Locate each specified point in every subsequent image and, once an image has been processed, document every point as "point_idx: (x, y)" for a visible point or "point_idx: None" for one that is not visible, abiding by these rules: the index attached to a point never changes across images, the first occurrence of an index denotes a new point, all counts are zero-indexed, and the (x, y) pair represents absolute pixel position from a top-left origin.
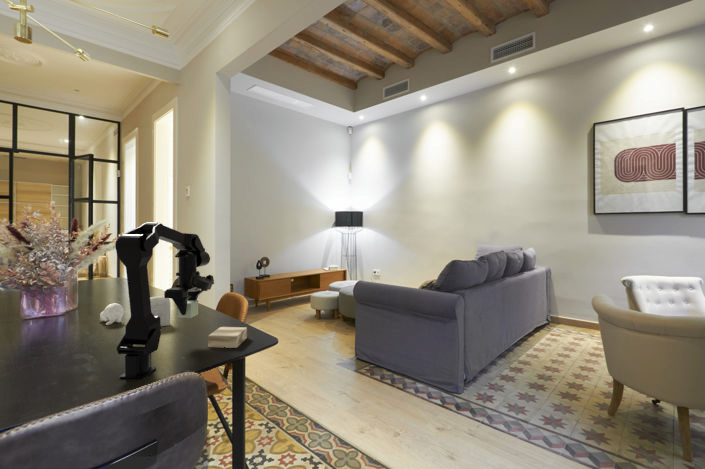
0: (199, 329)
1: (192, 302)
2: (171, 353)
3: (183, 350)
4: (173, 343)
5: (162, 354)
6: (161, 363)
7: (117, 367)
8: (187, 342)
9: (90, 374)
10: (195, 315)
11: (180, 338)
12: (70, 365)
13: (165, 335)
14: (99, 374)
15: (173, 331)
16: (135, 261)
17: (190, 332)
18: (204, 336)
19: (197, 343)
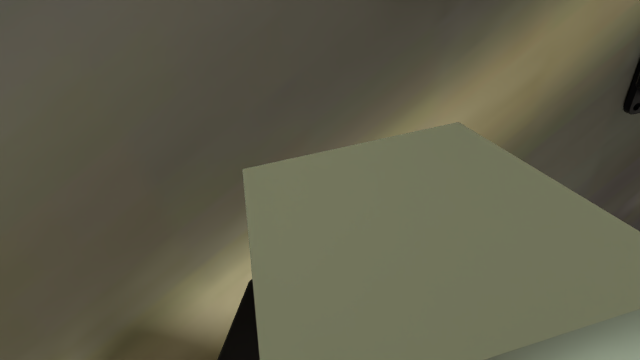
0: (4, 240)
1: (575, 349)
2: (462, 85)
3: (416, 45)
4: None
5: (473, 122)
6: (591, 32)
7: (588, 185)
8: (280, 125)
9: (624, 214)
10: (334, 149)
11: (228, 217)
12: None
13: (215, 314)
14: (633, 189)
15: (140, 332)
16: None
17: (100, 245)
18: (120, 92)
19: (280, 38)
